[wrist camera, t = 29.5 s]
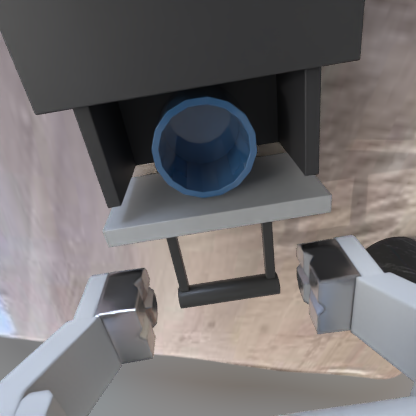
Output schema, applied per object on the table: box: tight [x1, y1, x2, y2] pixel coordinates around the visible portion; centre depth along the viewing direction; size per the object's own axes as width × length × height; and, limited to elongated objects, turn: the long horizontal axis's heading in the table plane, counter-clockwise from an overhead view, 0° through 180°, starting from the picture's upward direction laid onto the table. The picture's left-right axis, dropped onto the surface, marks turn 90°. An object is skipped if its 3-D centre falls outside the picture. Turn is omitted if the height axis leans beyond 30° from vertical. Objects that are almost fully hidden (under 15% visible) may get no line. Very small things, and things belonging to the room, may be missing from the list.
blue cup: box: [151, 85, 257, 198], centre depth 20 cm, size 6×6×5 cm
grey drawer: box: [73, 67, 332, 308], centre depth 21 cm, size 19×13×7 cm
